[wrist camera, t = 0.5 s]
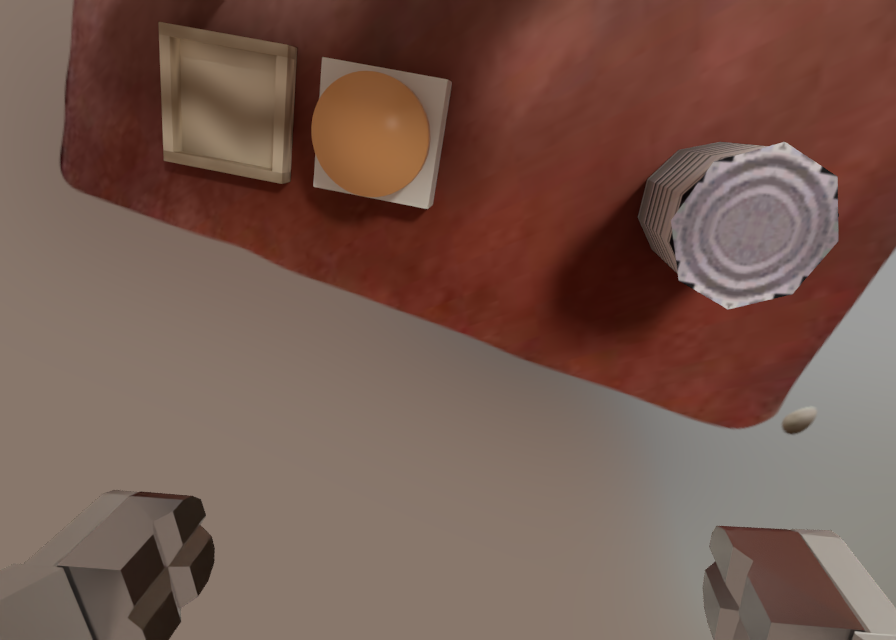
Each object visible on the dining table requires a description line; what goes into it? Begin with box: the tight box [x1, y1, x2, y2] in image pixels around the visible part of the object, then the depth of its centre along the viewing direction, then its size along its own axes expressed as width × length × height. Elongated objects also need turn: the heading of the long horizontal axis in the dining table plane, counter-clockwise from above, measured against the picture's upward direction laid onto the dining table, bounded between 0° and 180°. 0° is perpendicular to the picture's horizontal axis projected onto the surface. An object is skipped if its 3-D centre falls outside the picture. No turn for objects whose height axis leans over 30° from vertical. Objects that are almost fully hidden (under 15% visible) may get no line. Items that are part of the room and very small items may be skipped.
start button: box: [311, 71, 430, 197], centre depth 44 cm, size 10×10×2 cm
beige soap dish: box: [158, 22, 297, 184], centre depth 48 cm, size 12×12×2 cm
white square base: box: [313, 57, 452, 209], centre depth 47 cm, size 11×11×3 cm
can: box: [638, 142, 839, 309], centre depth 41 cm, size 11×11×12 cm
